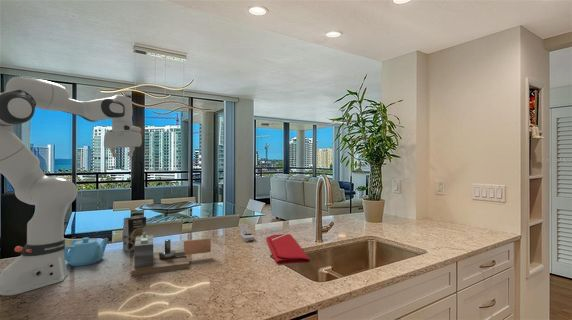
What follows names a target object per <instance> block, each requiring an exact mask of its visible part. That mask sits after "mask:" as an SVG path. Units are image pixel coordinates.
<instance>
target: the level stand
mask: <svg viewBox="0 0 572 320" xmlns="http://www.w3.org/2000/svg"><path fill="white" fill-rule="evenodd" d="M174 251H176V252H179V251H184V248H183V249H182V248H181V249H174ZM159 252H160V251H155V252H154V235H152V234H151V235H148V234H147V231H146V232H144V233H143V234H142V236H138V237H136V240H135V250H134V254H133V255H132V256H133V258H132V264H131V270H130V275H131V276H132V277H133V276H140V275H141V276H142V275H148V274H154V273H162V272H170V271H176V270H184V269H189V268H190V262H189V259H188V255H183V256H175V257H173V258H169V259H161V258H159Z"/></svg>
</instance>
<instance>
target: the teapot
mask: <svg viewBox="0 0 572 320" xmlns="http://www.w3.org/2000/svg"><path fill="white" fill-rule="evenodd" d="M108 241H109V238H107V237H105V238H103V239H102V241H101V242H99V241H97V239H90V237H88V236H87V237H82V238H81V240H76V239H73V240H70V242H71V243H70V244H71V245H65V250H64V258H65V262H66V264H69V265H70V266H72V267H81V266H83V267H84V266H90V265H93V264H96V263H99V262H100V261H101V260H102V259H103V258H104V255H105V254H104V253H105V250H106V247H107V245H108V244H107V243H108Z"/></svg>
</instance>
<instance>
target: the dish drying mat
mask: <svg viewBox="0 0 572 320" xmlns="http://www.w3.org/2000/svg"><path fill="white" fill-rule="evenodd" d="M266 244H267V245H268V248H269V250H270V253H271V256H272V258H273V260H274V261H275V263H276V264H277V265H286V264H288V265H289V264H307V263H310V262H311V260H310V257H309V256H308V254H307V253H306V252H305V250H304V249H303V248H302V247H301V246H300V244H299V243H298V242H297V241H296V239H295V237H294V236H292V235H291V234H290V233H289V234H288V233H285V234H284V233H283V234H272V235H269V236H266Z"/></svg>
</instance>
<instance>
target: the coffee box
mask: <svg viewBox="0 0 572 320" xmlns="http://www.w3.org/2000/svg"><path fill="white" fill-rule="evenodd" d="M122 232H123V233H122V235H123V237H122V250H124V251H127V252H132V251H135V240H136V237H138V236H142V234H143V233H144V232H146V233H147V217H146V216H142V215H139V216H137V215H136V216H131V217H124V218H123V231H122Z"/></svg>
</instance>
